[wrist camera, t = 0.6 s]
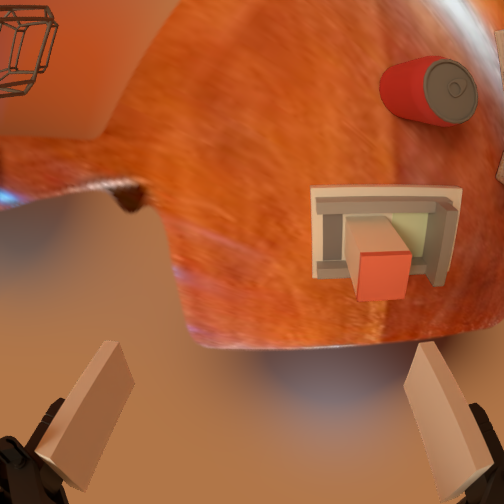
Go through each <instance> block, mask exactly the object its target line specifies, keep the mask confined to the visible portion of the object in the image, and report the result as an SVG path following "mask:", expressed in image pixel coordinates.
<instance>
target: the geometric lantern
mask: <svg viewBox="0 0 504 504" xmlns="http://www.w3.org/2000/svg"><path fill="white" fill-rule="evenodd" d="M35 9H44V12H45V17H17V16H16V15H15V12H14V11H17V10H35ZM0 11H8V13H7V14H6V15H5V16H4V17H3V18H2V17H1V18H0V31H1V28H2V24H3V25H6V26H8V27H10V28H12V29H14V30H15V34H14V38H13V43H12V48H11V54H10V59H9V65H8V68H7V69H3V70H0V72H3V71H7V70H8V71H9V72H8V73H7V74H6V75H4V76H3V77H2V78H1V79H0V81H1V80H2V79H4V78H5V77H6V76H7V75H9V74H33V76H32V77H31V79H30V80H25V81H18V82H11V83H5V84H0V90H3V91H7V92H12V93H8V94H0V98H5V97H14V96H23V95H26V94H27V93H28V91H29V90H30V88H31V87H32V86H33V84H34V82H35V81H36V77H37V73H44V71H45V70H46V68H47V67H48V63H49V58H50V54H51V50H52V46H53V43H54V39H55V35H56V32H57V29H58V24H57V23H56V22H55V21H54V16H53V14H52V12H51V10H50V8H49V7H48V6H41V5H0ZM11 12H12V14H13V16H14V17H7V16H8V15H9V14H10V13H11ZM47 13H48V15H49V17H47ZM4 21H17V23H18V25H19V26H18V27H17V28H16V27H14V26H11V25H9V24H7V23H5V22H4ZM20 21H40V22H33V23H26V24H21V23H20ZM53 23H54V24H55V25H52V24H53ZM39 24H47V29H46V32H45V36H44V40H43V43H42V46H41V49H40V53H39V56H38V60H37V63H36V67H35V71H19V70H18V68H17V64H18V59H19V54H20V50H21V46H22V42H23V38H24V34H25V31H26V30H27V28H28V27H29V26H31V25H39ZM20 27H26V28H25V29H24V30H18V29H19V28H20ZM51 27H56V28H55V32H54V35H53V39H52V42H51V46H50V50H49V54H48V58H47V62H46V66H40V63H41V58H42V55H43V51H44V48H45V45H46V41H47V38H48V35H49V32H50V29H51ZM17 32H23V36H22V39H21V43H20V47H19V51H18V55H17V59H16V64H15V67H10V64H11V58H12V52H13V47H14V43H15V38H16V34H17ZM40 68H44V69H43V71H39V69H40ZM10 69H16V71H14V72H11V70H10ZM23 84H28V85H27V87H26V89H25V90H24V91H20V90H15V89H11V88H6V87H11V86H17V85H23Z"/></svg>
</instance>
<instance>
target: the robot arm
mask: <svg viewBox="0 0 504 504" xmlns="http://www.w3.org/2000/svg"><path fill="white" fill-rule="evenodd" d="M134 385H135V383H134V380H133V378H132V375H131V373H130V370H129V368H128V365H127V362H126V360H125V357H124V354H123V351H122V349H121V346H120V343H119V342H117V341H108V340H105V341H104V343H103V344H102V345H101V347H100V348H99V350H98V351H97V353H96V354H95V356H94V357H93V359H92V360H91V361H90V363H89V365H88V366H87V367H86V369H85V371H84V372H83V373H82V375H81V377H80V378H79V379H78V381H77V383H76V384H75V386H74V387H73V389H72V390H71V392H70V393H69V395H68V397H67V398H66V399H63V398H59V399H58V400H56V401H55V402H54V403H53V404H51V406H50V408H49V409H48V411H47V412H46V415H44V417H43V418H42V420H41V422H40V423H39V425H38V426H37V428H36V430H35V431H34V433H33V435H32V436H31V438H30V440H29V441H28V443H27V445H26V446H25V447H23V446H22V445H21V444H20V443H19V442H18V440H17V439H16V438H14V437H12V436H5V437H3V438H1V439H0V504H69V503H68V500H67V497H66V494H65V491H64V488H63V486H62V485H61V484H62V482H63V480H64V481H65V482H66V483H67V484H68V485H69V486H70V487H73V488H75V489H77V490H80V491H82V492H86V490H87V487H88V485H89V483H90V480H91V478H92V476H93V473H94V471H95V468H96V466H97V464H98V462H99V460H100V457H101V455H102V453H103V451H104V448H105V446H106V444H107V442H108V440H109V437H110V435H111V433H112V431H113V429H114V426H115V424H116V422H117V420H118V418H119V416H120V414H121V412H122V410H123V407H124V405H125V403H126V401H127V399H128V397H129V395H130V393H131V391H132V389H133V387H134ZM403 387H404V389H405V392H406V394H407V397H408V400H409V403H410V406H411V408H412V411H413V414H414V417H415V420H416V423H417V426H418V428H419V431H420V434H421V437H422V441H423V443H424V447H425V450H426V453H427V456H428V459H429V463H430V466H431V470H432V473H433V477H434V480H435V484H436V488H437V492H438V495H439V499H440V503H442V502H445V501H448V500H451V499H454V498H456V497H458V496H459V495H460V494H462V493H463V492H464V491H465V494H466V497H464V498H463V499H462V500H461V501H460V502H458V503H457V504H504V450H503V448H502V446H501V444H500V441H499V439H498V437H497V435H496V433H495V431H494V430H493V426H492V424H491V422H489V418H488V416H487V414H486V412H485V410H484V409H483V408H482V407H480V406H479V405H478V404H477V403H473V404H469V405H468V404H467V402H466V400H465V398H464V396H463V394H462V392H461V390H460V389H459V386H458V384H457V382H456V380H455V379H454V377H453V375H452V373H451V371H450V369H449V368H448V366H447V364H446V362H445V360H444V358H443V357H442V355H441V353H440V351H439V350H438V348H437V346H436V345H435V343H434V341H431V342H424V343H419V345H418V348H417V351H416V354H415V356H414V359H413V362H412V365H411V367H410V370H409V373H408V376H407V379H406V381H405V383H404V386H403Z"/></svg>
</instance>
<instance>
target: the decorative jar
mask: <svg viewBox="0 0 504 504" xmlns="http://www.w3.org/2000/svg"><path fill="white" fill-rule="evenodd" d="M496 179H497V180H498V181H500V182H501V183H502V184H504V151H503V155H502V158H501V161H500V164H499V168H498V171H497V174H496Z"/></svg>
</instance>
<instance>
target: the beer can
mask: <svg viewBox="0 0 504 504" xmlns="http://www.w3.org/2000/svg"><path fill="white" fill-rule="evenodd" d="M379 91H380V95H381V99H382V101H383V103H384V104H385V106H386V107H387V108H388V109H389V111H390V112H391V113H393V114H395V115H396V116H398V117H400V118H405V119H409V120H414V121H419V122H423V123H428V124H432V125H436V126H440V127H448V126H454V125H456V124H459V123H463V122H465V121H467V120H469V119H470V118H471V117H472V115H473V114H474V112H475V110H476V107H477V103H478V92H477V87H476V84H475V82H474V79H473V77H472V76H471V74H470V73H469V72H468V70H467V69H466V68H465V67H464V66H462V65H461V64H460V63H458V62H456V61H453V60H451V59H446V58H444V57H441V56H426V57H422V58H418V59H415V60H411V61H408V62H404V63H401V64H397V65H395V66H392V67H390V68H388V69H387V70H386V71H385V72H384V73H383V75H382V78H381V80H380V87H379Z"/></svg>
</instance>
